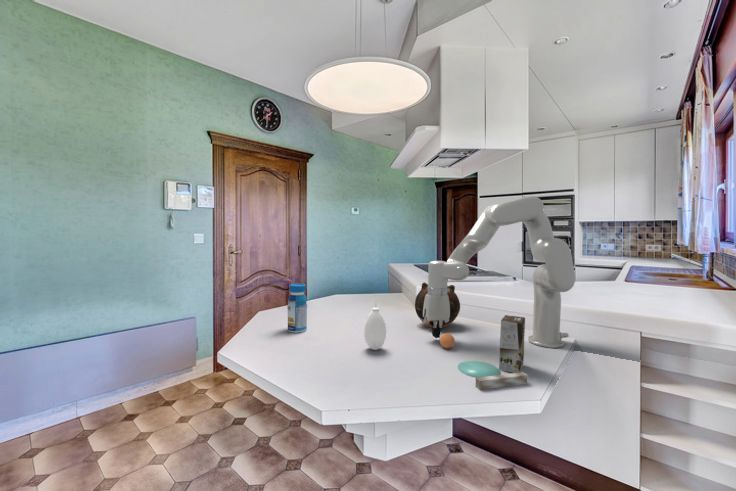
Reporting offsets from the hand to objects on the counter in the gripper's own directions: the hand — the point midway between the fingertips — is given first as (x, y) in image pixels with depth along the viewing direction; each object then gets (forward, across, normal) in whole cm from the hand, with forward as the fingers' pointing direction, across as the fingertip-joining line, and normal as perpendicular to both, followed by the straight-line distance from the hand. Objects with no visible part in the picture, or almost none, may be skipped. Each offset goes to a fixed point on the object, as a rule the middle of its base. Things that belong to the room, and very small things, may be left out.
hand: (436, 336), depth 133 cm
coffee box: (+2, -12, +30) cm, 32 cm away
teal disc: (+2, 0, +29) cm, 29 cm away
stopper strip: (+2, 0, +40) cm, 40 cm away
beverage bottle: (+2, +53, -26) cm, 59 cm away
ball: (-1, 0, +9) cm, 9 cm away
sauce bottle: (+2, +27, +4) cm, 27 cm away
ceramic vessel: (+2, -10, -18) cm, 21 cm away
